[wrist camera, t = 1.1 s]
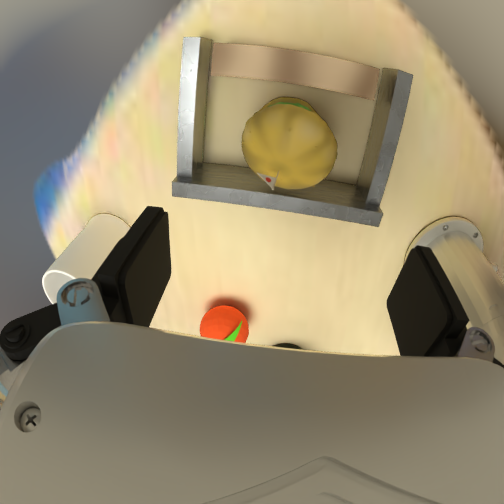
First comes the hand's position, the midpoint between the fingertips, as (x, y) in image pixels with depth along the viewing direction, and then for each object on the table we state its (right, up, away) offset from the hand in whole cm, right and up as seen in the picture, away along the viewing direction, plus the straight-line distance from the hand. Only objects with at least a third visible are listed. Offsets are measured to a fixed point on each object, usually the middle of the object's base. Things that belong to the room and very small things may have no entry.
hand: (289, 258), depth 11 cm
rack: (+2, +14, +17) cm, 22 cm away
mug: (-19, +1, +29) cm, 35 cm away
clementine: (-5, -8, +34) cm, 35 cm away
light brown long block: (+3, +18, +14) cm, 23 cm away
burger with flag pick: (+2, +13, +18) cm, 23 cm away
